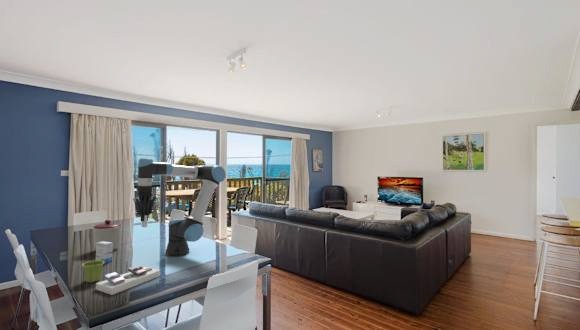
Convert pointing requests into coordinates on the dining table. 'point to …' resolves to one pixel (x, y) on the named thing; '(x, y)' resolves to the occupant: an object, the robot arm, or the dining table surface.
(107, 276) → the slate rocker
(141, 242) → the dining table surface
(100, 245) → the ink box
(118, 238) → the canister
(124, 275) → the power strip
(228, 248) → the dining table surface
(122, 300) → the dining table surface
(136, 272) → the charcoal rocker
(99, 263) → the plant pot
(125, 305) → the dining table surface
